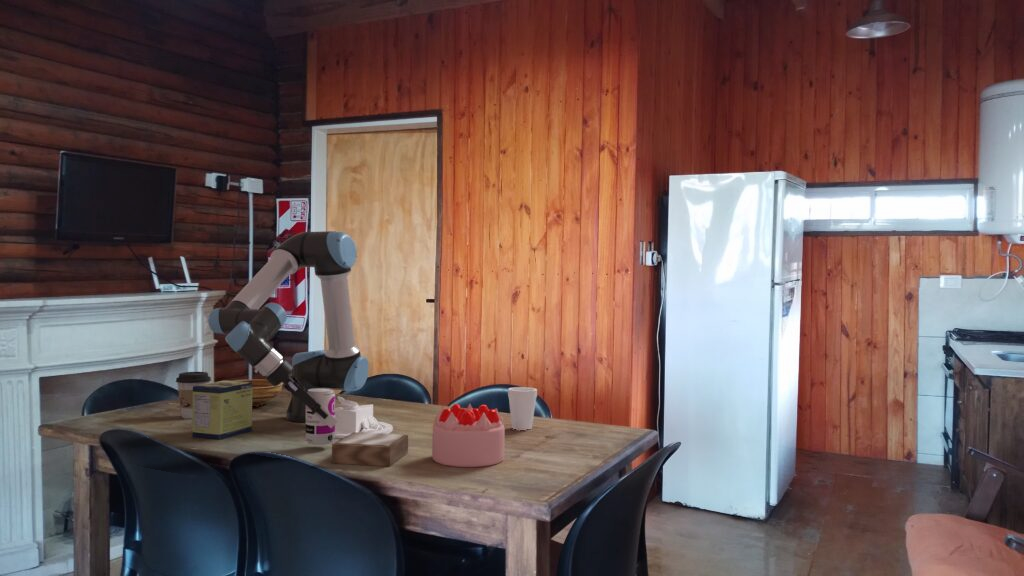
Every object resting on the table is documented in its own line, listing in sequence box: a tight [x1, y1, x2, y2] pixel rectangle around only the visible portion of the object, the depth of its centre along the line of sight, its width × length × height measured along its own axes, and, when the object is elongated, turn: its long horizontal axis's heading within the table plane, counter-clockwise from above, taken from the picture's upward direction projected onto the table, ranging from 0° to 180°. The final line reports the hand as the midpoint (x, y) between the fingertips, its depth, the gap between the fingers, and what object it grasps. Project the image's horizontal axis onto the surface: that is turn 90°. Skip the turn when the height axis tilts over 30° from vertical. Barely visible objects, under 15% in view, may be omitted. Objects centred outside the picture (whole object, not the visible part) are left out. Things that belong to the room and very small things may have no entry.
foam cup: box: [507, 386, 538, 431], centre depth 258 cm, size 10×9×13 cm
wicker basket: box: [232, 378, 284, 407], centre depth 296 cm, size 30×24×8 cm
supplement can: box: [305, 388, 336, 446], centre depth 225 cm, size 8×8×15 cm
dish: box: [335, 395, 394, 440], centre depth 250 cm, size 25×25×11 cm
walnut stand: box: [331, 432, 409, 467], centre depth 214 cm, size 16×16×5 cm
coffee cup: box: [175, 371, 212, 420], centre depth 269 cm, size 11×11×15 cm
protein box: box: [191, 379, 253, 440], centre depth 243 cm, size 10×16×16 cm
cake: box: [431, 403, 506, 468], centre depth 215 cm, size 20×20×14 cm
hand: (332, 421), depth 226 cm, fingers closed on supplement can, 8 cm apart
